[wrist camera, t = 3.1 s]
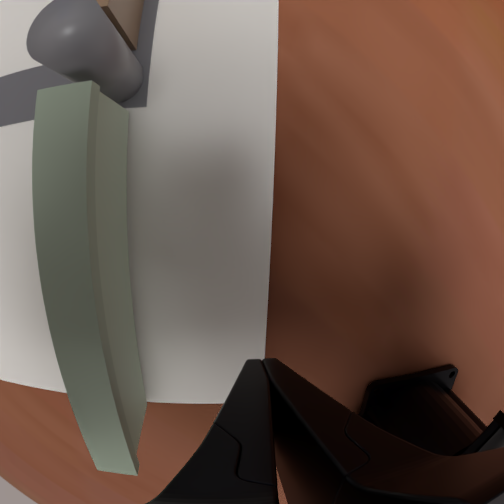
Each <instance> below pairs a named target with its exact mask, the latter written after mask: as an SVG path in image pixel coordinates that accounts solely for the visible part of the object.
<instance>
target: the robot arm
mask: <svg viewBox="0 0 504 504" xmlns="http://www.w3.org/2000/svg"><path fill="white" fill-rule="evenodd" d="M457 373H458V369H457V368H456V367H455V366H454V365H448V366H444V367H440V368H436V369H431V370H427V371H423V372H418V373H413V374H409V375H404V376H398V377H393V378H388V379H382V380H377V381H374V382H372V383H371V384H370V385H369V386H368V387H367V390H366V393H365V397H364V401H363V404H362V407H361V411H360V414H359V415H357V414H356V413H354V412H352V413H351V410H349V409H348V408H346V407H345V406H343V405H342V404H340V403H339V402H337V401H336V400H335V399H333V398H332V397H330V396H329V395H327V394H326V393H324V392H323V391H321V390H320V389H319V388H317V387H316V386H314V385H313V384H311V383H310V382H309V381H307V380H306V379H304V378H303V377H301V376H300V375H299V374H297V373H296V372H294V371H293V370H292V369H290V368H289V367H288V366H286V365H285V364H283V363H282V362H281V361H279V360H278V359H276V358H267V359H262V360H261V359H247V360H246V362H245V364H244V366H243V368H242V370H241V371H240V373H239V375H238V377H237V379H236V381H235V383H234V385H233V387H232V389H231V391H230V393H229V395H228V397H227V398H226V400H225V402H224V404H223V406H222V408H221V410H220V412H219V414H218V415H217V417H216V419H215V421H214V423H213V425H212V426H211V428H210V430H209V432H208V434H207V435H206V437H205V439H204V440H203V442H202V443H201V445H200V446H199V448H198V449H197V450H196V452H195V453H194V454H193V456H192V457H191V458H190V460H189V461H188V462H187V463H186V464H185V466H184V467H183V468H182V469H181V470H180V471H179V473H178V474H177V475H176V476H175V477H174V478H173V480H172V481H171V482H170V483H169V484H168V485H167V486H166V488H165V489H164V490H163V491H162V492H161V493H160V494H159V495H158V496H157V497H155V498H154V499H153V500H151V501H150V502H148V503H146V504H279V499H278V489H277V473H276V467H277V470H278V474H279V477H280V480H281V483H282V486H283V490H284V493H285V496H286V499H287V502H288V504H504V413H503V412H502V411H501V410H500V411H499V412H498V413H497V414H496V415H495V417H494V418H493V421H492V422H491V423H490V425H489V426H488V427H487V426H486V425H485V424H484V423H483V422H482V421H481V420H480V419H479V418H478V417H477V416H476V415H475V414H474V413H473V412H472V411H471V410H470V409H469V408H468V407H467V406H466V405H465V404H464V403H463V402H462V401H461V400H460V399H459V398H458V397H457V396H456V395H455V394H454V393H453V392H452V391H451V389H452V386H453V384H454V381H455V378H456V376H457ZM376 389H377V390H376ZM375 390H376V391H375Z"/></svg>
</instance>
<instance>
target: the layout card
mask: <svg viewBox="0 0 504 504" xmlns="http://www.w3.org/2000/svg"><path fill="white" fill-rule="evenodd" d="M277 58H278V0H0V380H4V381H8V382H13V383H17V384H22V385H26V386H31V387H36V388H41V389H47V390H52V391H58V392H64V393H67V392H66V388H65V385H64V382H63V379H62V376H61V372H60V369H59V365H58V362H57V358H56V354H55V350H54V346H53V342H52V338H51V334H50V330H49V325H48V321H47V316H46V311H45V306H44V300H43V295H42V289H41V282H40V276H39V269H38V261H37V253H36V243H35V232H34V219H33V199H32V150H33V130H34V117H35V106H36V97H37V90H40V89H45V88H50V87H55V86H60V85H66V84H72V83H78V82H84V81H91V80H92V81H94V82H95V83H96V84H98V85H99V86H100V92H101V93H103V94H104V95H106V96H107V97H109V98H110V99H111V100H113V101H114V102H116V103H117V104H119V105H120V106H122V107H123V108H125V109H126V110H127V111H129V120H128V140H127V234H128V254H129V269H130V282H131V294H132V304H133V314H134V322H135V331H136V338H137V346H138V353H139V360H140V366H141V372H142V378H143V384H144V390H145V395H146V401H147V402H161V403H193V404H221V403H224V402H225V400H226V398H227V397H228V395H229V393H230V391H231V389H232V387H233V385H234V383H235V381H236V379H237V377H238V375H239V373H240V371H241V370H242V368H243V366H244V364H245V362H246V360H247V359H261V360H262V359H265V343H266V326H267V309H268V291H269V272H270V252H271V232H272V209H273V186H274V160H275V131H276V98H277Z"/></svg>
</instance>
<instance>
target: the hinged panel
mask: <svg viewBox="0 0 504 504" xmlns="http://www.w3.org/2000/svg"><path fill="white" fill-rule="evenodd" d="M128 120H129V111H127V110H126V109H125V108H123V107H122V106H120V105H119V104H117V103H116V102H114V101H113V100H111V99H110V98H109V97H107V96H106V95H104V94H103V93H101V92H100V86H99V85H98V84H96V83H95V82H94V81H92V80H91V81H84V82H78V83H72V84H66V85H60V86H55V87H50V88H45V89H40V90H37V97H36V106H35V117H34V130H33V150H32V199H33V219H34V232H35V243H36V253H37V261H38V269H39V276H40V282H41V289H42V295H43V300H44V306H45V311H46V316H47V321H48V325H49V330H50V334H51V338H52V342H53V346H54V350H55V354H56V358H57V362H58V365H59V369H60V372H61V376H62V379H63V382H64V385H65V388H66V392H67V395H68V398H69V401H70V404H71V406H72V409H73V412H74V415H75V418H76V420H77V423H78V425H79V428H80V431H81V433H82V436H83V438H84V441H85V443H86V445H87V448H88V450H89V452H90V455H91V457H92V459H93V461H94V463H95V466H96V468H97V470H101V471H107V472H113V473H121V474H128V475H138V470H139V461H138V458H137V455H136V453H137V449H138V444H139V439H140V434H141V430H142V425H143V420H144V416H145V412H146V407H147V401H146V395H145V390H144V384H143V378H142V372H141V366H140V360H139V353H138V346H137V338H136V331H135V322H134V314H133V304H132V294H131V282H130V269H129V254H128V234H127V140H128Z"/></svg>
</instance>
